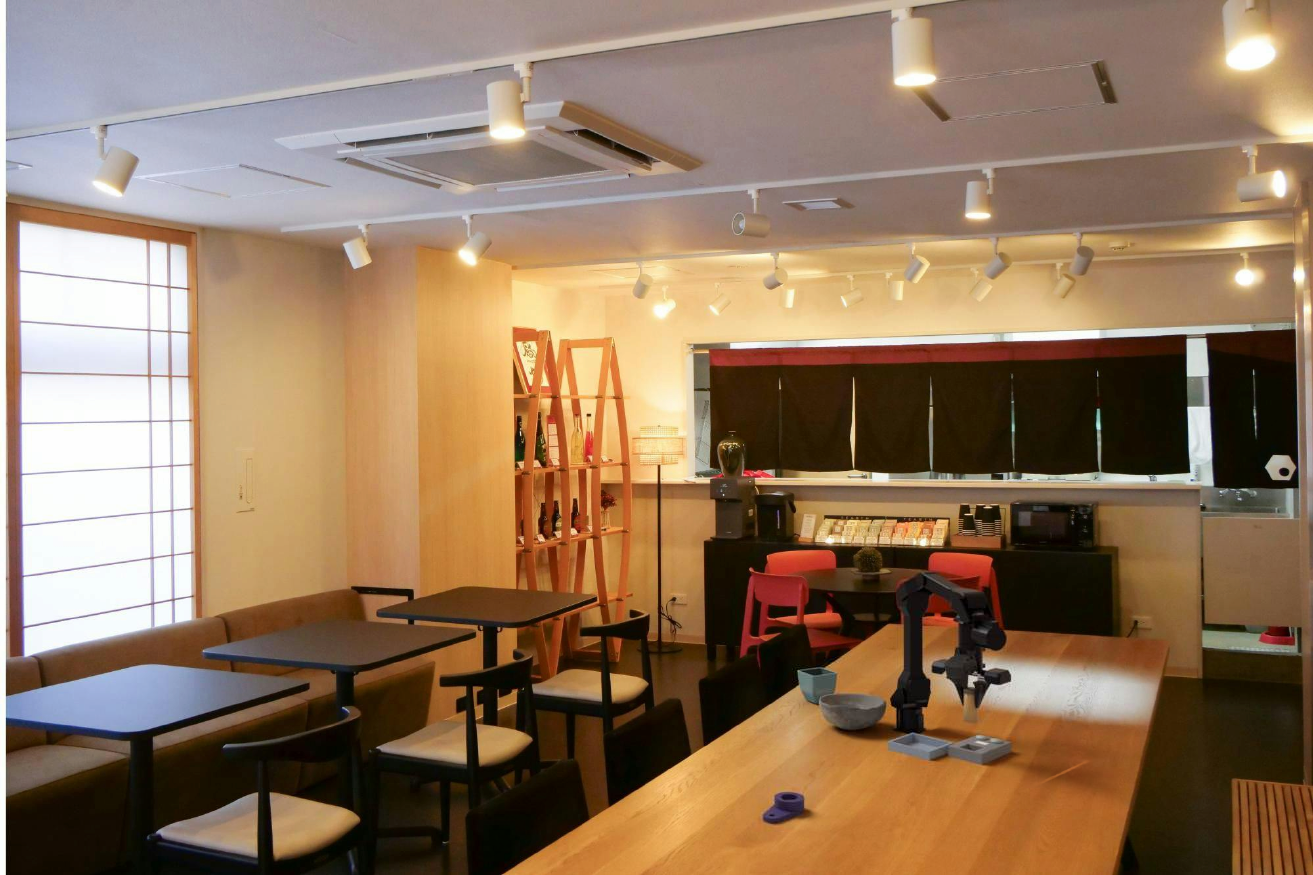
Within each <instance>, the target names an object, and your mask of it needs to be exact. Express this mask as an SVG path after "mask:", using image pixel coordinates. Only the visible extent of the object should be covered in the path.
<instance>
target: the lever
mask: <svg viewBox="0 0 1313 875" xmlns="http://www.w3.org/2000/svg"><path fill="white" fill-rule="evenodd" d="M773 801H774V804H773V805H771V807H769V808H768V809H767V810H765V812H763V814H762V822H763V823H767V824H779V823H781V822H784V821H787V820H790V819H793V818H795V817H798V816H799V815H800V816H801V815H802V814H804V813H805V795H803V794H801V793H798V792H794V791H783V792H782V791H781V792H778V793H775V794H774V800H773Z"/></svg>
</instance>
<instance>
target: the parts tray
mask: <svg viewBox="0 0 1313 875" xmlns="http://www.w3.org/2000/svg"><path fill="white" fill-rule="evenodd" d="M952 744H955V743H954V742H952V741H949V740H944V739H941V738H936V737H932V736H928V735H923V734H919V733H907V734H905V735H903V736H902V735H901V736H899V737H897V738H894V739H891V740H888V741H887V750H888V751H893V752H895V753H899V754H903V755H908V756H911V757H914V758H919V759H923V760H926V761H932V760H934V759H937V758H940V757H942V756H945V755H946V754H947V755H948V746H950V745H952Z"/></svg>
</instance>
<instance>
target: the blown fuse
mask: <svg viewBox="0 0 1313 875" xmlns="http://www.w3.org/2000/svg"><path fill="white" fill-rule="evenodd" d="M963 693H964V706H963V722H964V723H968V724H975V723H978V722H979V721H978V719H979V718H978V717H979V716H978V714H979V712H978V708H975V686H968V687H964V688H963Z"/></svg>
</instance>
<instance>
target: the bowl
mask: <svg viewBox="0 0 1313 875" xmlns="http://www.w3.org/2000/svg"><path fill="white" fill-rule="evenodd" d="M818 707H819V708H820V710H821V713H822V716H823V718H824V719H825V721H827V722H828V723H830V724H832V725H833V726H835V727H836V728H838V729H842V730H846V731H856V730H862V729H866V728H869V727H870V726H873V725H876V724H877V723H879V722H880V721H881V720H882V718H884V716H885V714H886V710H887V702H886V700H885V699H884V698H882V697H881V696H877V695H873V694H863V693H853V692H852V693H850V692H849V693H848V692H846V693H845V692H844V693H842V692H841V693H840V692H839V693H838V692H837V693H834V694H828V695H825V696H822V697H820V699H819V703H818Z"/></svg>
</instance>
